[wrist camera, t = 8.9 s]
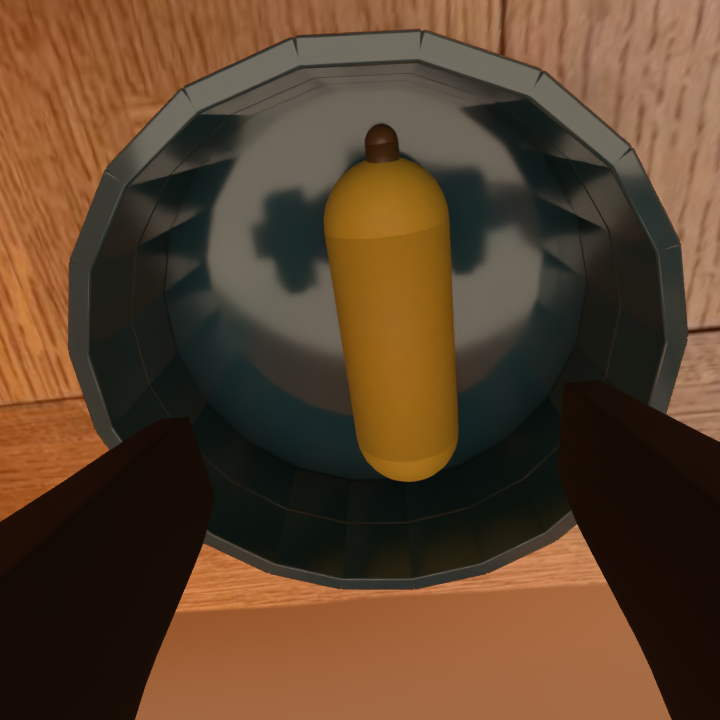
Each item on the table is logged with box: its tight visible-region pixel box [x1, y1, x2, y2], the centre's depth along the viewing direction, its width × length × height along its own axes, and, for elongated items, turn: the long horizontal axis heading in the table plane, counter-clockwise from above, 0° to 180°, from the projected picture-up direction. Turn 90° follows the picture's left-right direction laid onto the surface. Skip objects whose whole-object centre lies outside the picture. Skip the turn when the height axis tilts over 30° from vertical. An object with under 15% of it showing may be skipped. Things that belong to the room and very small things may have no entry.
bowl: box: [68, 29, 688, 590], centre depth 14 cm, size 14×14×5 cm
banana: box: [324, 124, 459, 482], centre depth 14 cm, size 10×3×3 cm, turn 7°
